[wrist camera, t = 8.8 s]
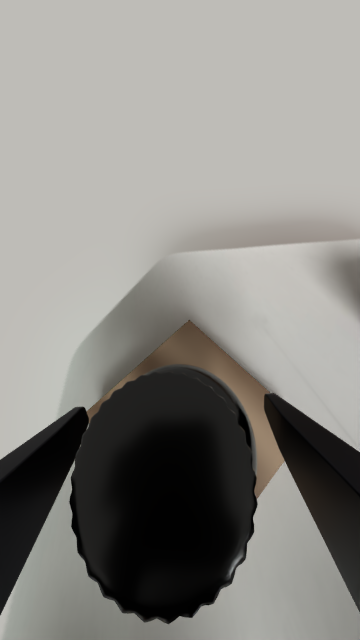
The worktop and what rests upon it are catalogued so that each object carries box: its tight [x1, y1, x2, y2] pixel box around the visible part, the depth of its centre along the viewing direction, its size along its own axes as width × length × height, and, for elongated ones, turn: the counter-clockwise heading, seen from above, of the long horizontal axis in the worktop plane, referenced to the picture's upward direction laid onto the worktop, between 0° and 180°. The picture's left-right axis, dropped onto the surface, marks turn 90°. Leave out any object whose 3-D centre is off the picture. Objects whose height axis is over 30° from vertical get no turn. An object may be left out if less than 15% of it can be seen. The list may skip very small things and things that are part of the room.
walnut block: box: [87, 320, 285, 499], centre depth 16 cm, size 14×14×3 cm
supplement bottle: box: [69, 364, 258, 624], centre depth 10 cm, size 7×7×12 cm
